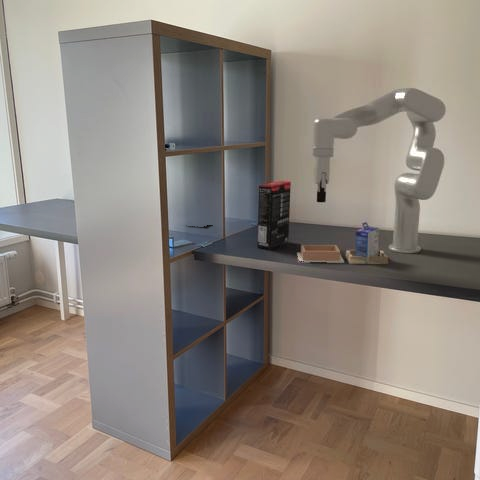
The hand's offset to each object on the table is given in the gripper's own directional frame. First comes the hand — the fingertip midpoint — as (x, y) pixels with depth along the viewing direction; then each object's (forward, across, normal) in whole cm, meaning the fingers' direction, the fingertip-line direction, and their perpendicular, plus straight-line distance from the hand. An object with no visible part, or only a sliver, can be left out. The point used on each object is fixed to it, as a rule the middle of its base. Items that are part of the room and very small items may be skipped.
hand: (321, 201), depth 187 cm
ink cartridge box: (+22, +2, +18) cm, 29 cm away
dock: (+23, 0, 0) cm, 23 cm away
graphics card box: (+23, -21, -17) cm, 36 cm away
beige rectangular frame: (+22, +2, +18) cm, 29 cm away
